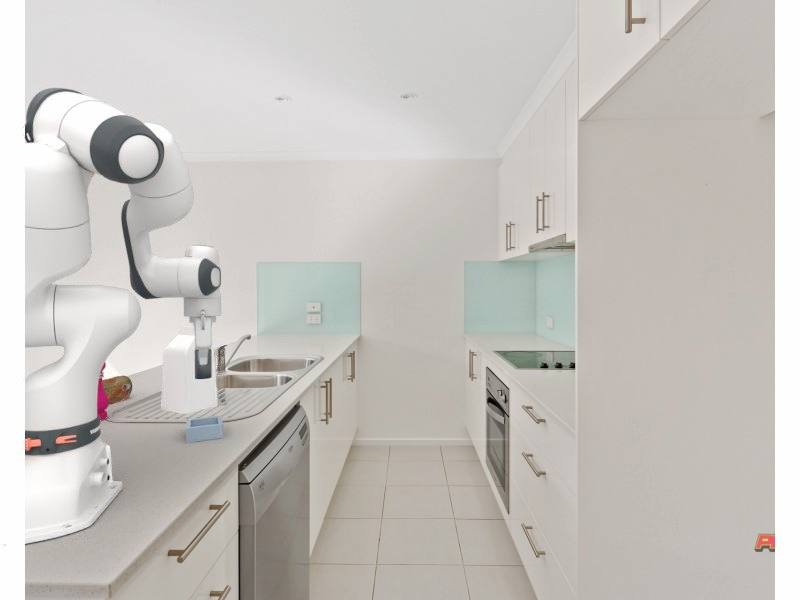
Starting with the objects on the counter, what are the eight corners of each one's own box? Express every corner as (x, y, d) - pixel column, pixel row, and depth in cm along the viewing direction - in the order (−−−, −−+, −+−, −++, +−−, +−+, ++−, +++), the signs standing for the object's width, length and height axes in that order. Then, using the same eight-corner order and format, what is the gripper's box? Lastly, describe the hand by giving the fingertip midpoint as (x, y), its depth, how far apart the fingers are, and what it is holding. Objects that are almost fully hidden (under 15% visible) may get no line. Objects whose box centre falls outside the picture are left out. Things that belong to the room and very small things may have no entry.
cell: (211, 378, 114) (211, 345, 113) (194, 379, 112) (194, 345, 112) (211, 375, 117) (211, 343, 117) (194, 376, 116) (194, 344, 115)
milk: (160, 409, 139) (159, 327, 138) (192, 401, 150) (191, 324, 149) (187, 414, 134) (185, 328, 133) (217, 405, 144) (216, 325, 144)
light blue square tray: (222, 437, 113) (222, 424, 113) (185, 442, 110) (185, 428, 110) (221, 428, 121) (221, 415, 121) (186, 432, 117) (186, 419, 117)
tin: (94, 409, 140) (93, 382, 139) (86, 408, 140) (85, 382, 140) (133, 397, 154) (133, 373, 154) (125, 397, 155) (125, 373, 155)
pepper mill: (94, 424, 125) (92, 353, 124) (72, 422, 126) (71, 352, 125) (115, 416, 132) (114, 349, 131) (94, 415, 133) (93, 348, 132)
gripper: (217, 311, 106) (218, 368, 106) (214, 307, 125) (215, 356, 125) (188, 311, 103) (188, 370, 104) (190, 307, 122) (190, 357, 123)
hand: (203, 362), depth 115 cm, fingers closed on cell, 4 cm apart
